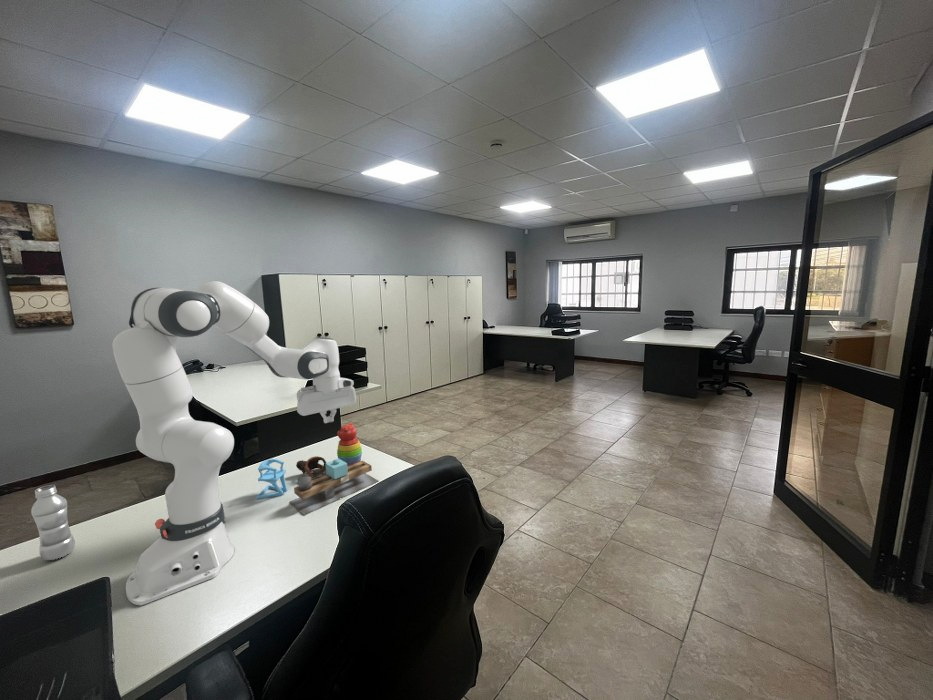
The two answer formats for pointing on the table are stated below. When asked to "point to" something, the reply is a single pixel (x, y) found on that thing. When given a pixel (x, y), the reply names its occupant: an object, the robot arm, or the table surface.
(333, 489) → the brown wooden bench
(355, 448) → the stacking bear
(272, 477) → the chair
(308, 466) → the pottery mug
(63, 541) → the plastic bottle
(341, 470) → the block
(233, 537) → the table surface
